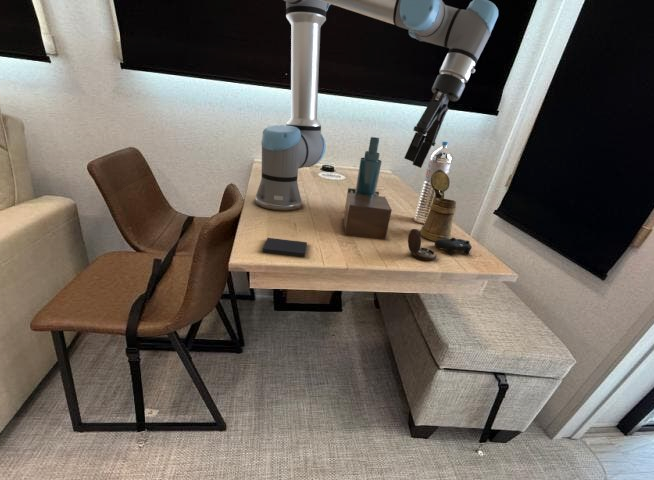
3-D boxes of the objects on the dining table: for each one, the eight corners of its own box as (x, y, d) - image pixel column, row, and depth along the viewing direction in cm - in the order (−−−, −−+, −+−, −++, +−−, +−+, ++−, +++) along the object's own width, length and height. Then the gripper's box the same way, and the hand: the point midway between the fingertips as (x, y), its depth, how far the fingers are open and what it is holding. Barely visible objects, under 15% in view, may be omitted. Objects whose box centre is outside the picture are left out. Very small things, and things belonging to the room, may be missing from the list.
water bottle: (428, 226, 108) (453, 144, 95) (409, 220, 112) (431, 140, 98) (436, 222, 113) (460, 143, 100) (417, 216, 117) (438, 139, 103)
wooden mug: (436, 227, 109) (454, 170, 99) (454, 243, 97) (476, 180, 88) (411, 225, 107) (426, 167, 98) (426, 241, 96) (446, 177, 86)
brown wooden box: (343, 219, 105) (347, 192, 100) (379, 223, 105) (385, 196, 101) (344, 234, 93) (349, 204, 89) (385, 239, 94) (391, 209, 89)
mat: (267, 241, 83) (267, 237, 83) (306, 245, 83) (307, 242, 83) (262, 252, 77) (262, 248, 77) (304, 257, 78) (304, 253, 77)
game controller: (461, 242, 96) (475, 233, 90) (464, 259, 95) (478, 252, 89) (432, 241, 94) (444, 233, 88) (435, 259, 93) (448, 252, 87)
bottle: (351, 207, 110) (363, 135, 98) (370, 209, 110) (384, 138, 99) (352, 213, 105) (365, 137, 93) (372, 215, 105) (387, 140, 93)
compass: (440, 261, 84) (449, 235, 80) (411, 260, 83) (419, 233, 79) (426, 248, 91) (434, 223, 87) (400, 247, 89) (406, 222, 86)
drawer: (344, 204, 117) (347, 184, 113) (373, 207, 117) (377, 188, 113) (346, 219, 102) (349, 197, 99) (379, 223, 103) (383, 201, 99)
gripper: (465, 64, 71) (419, 162, 80) (466, 98, 93) (430, 172, 102) (433, 54, 73) (391, 151, 82) (442, 90, 95) (408, 163, 104)
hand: (413, 163), depth 92 cm, fingers open, 13 cm apart
